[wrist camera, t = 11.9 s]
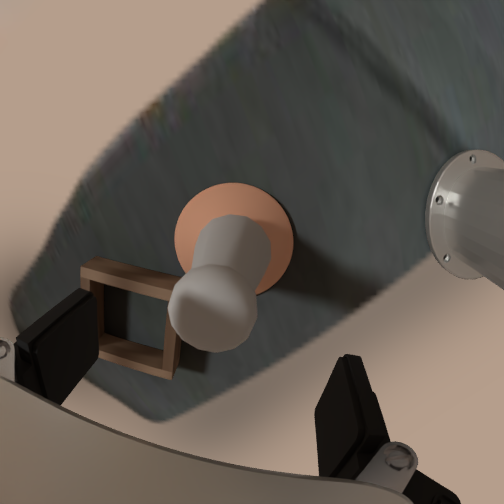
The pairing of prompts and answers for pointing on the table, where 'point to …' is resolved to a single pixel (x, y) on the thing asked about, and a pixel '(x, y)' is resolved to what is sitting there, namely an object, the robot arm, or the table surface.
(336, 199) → the table surface
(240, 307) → the salt shaker
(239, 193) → the orange round disc
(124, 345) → the square wooden frame
